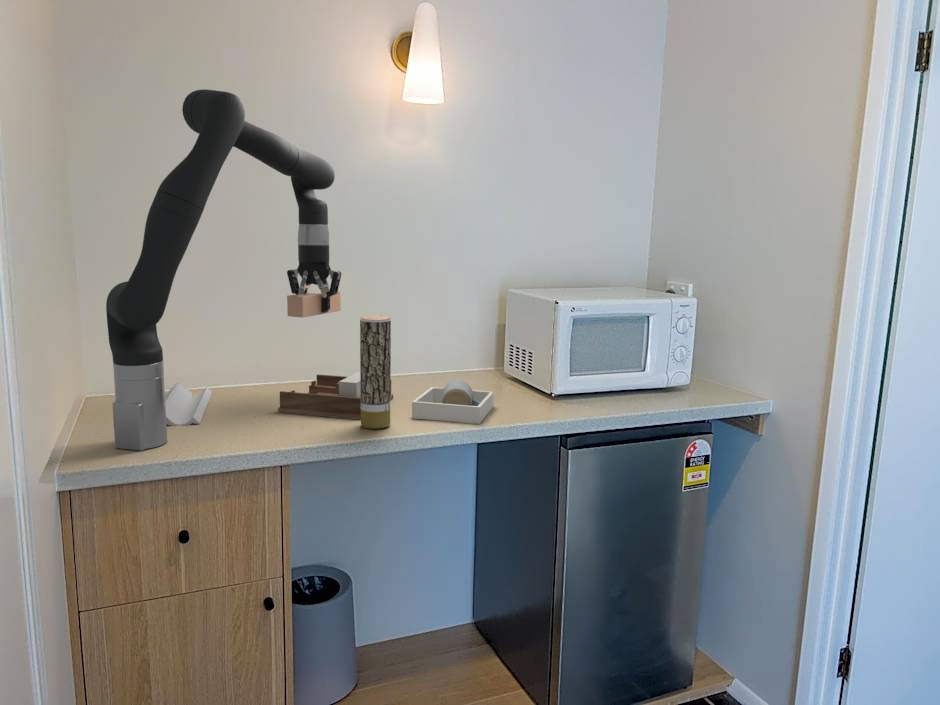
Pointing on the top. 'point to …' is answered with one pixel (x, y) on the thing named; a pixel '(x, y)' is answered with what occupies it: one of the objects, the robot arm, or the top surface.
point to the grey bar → (350, 386)
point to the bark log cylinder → (375, 371)
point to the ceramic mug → (458, 394)
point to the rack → (322, 400)
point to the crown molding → (185, 405)
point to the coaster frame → (451, 407)
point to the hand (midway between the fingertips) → (314, 311)
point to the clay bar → (310, 304)
